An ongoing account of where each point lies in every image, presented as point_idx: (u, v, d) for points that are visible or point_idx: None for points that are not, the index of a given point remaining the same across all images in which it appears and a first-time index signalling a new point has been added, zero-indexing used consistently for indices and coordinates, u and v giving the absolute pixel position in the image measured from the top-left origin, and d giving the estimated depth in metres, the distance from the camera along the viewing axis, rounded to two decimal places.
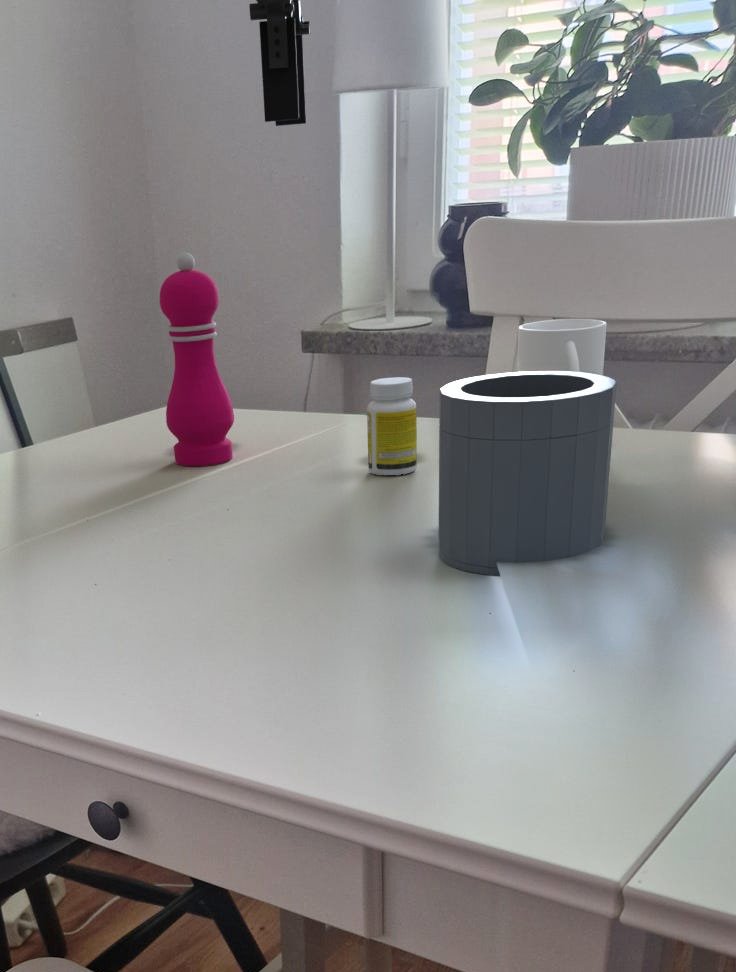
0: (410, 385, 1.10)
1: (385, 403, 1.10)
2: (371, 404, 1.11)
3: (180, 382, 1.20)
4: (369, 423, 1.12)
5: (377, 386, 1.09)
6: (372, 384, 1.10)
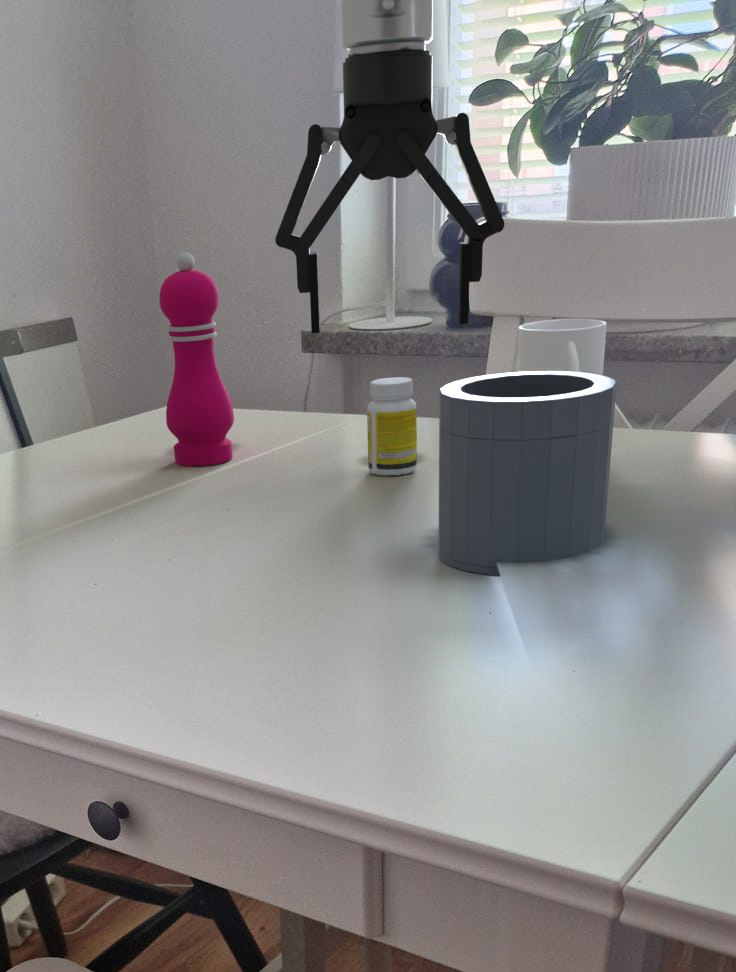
0: (410, 385, 1.10)
1: (385, 403, 1.10)
2: (371, 404, 1.11)
3: (180, 382, 1.20)
4: (369, 423, 1.12)
5: (377, 386, 1.09)
6: (372, 384, 1.10)
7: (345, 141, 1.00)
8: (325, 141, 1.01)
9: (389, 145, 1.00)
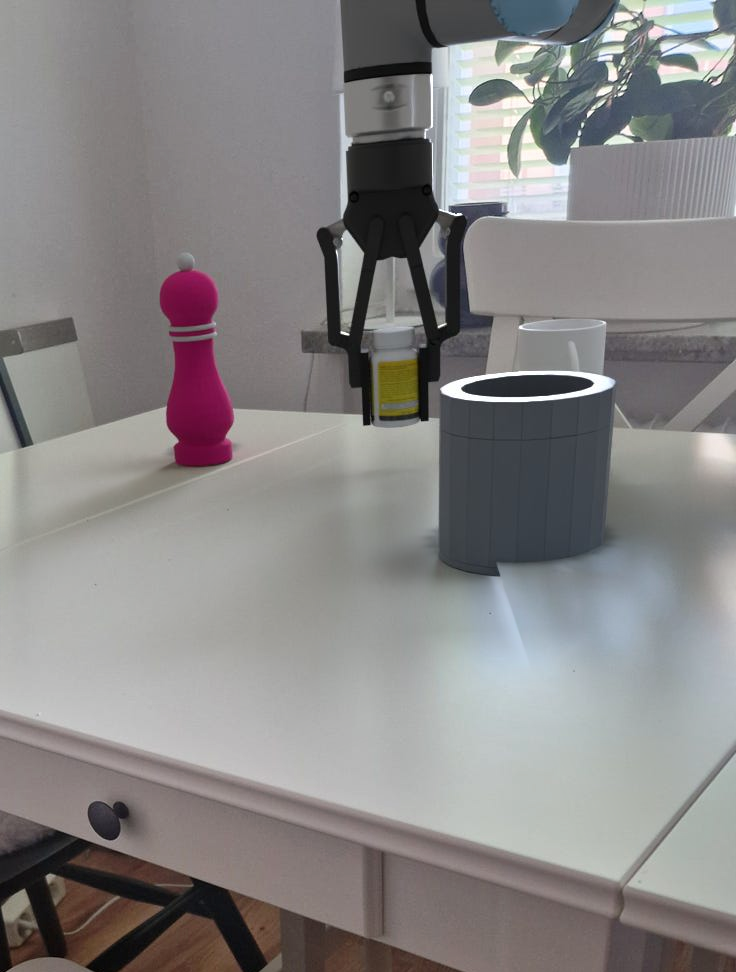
0: (413, 333, 1.07)
1: (387, 352, 1.08)
2: (373, 354, 1.09)
3: (180, 382, 1.20)
4: (371, 373, 1.09)
5: (379, 335, 1.07)
6: (374, 333, 1.08)
7: (352, 227, 1.03)
8: (335, 237, 1.04)
9: (392, 228, 1.03)
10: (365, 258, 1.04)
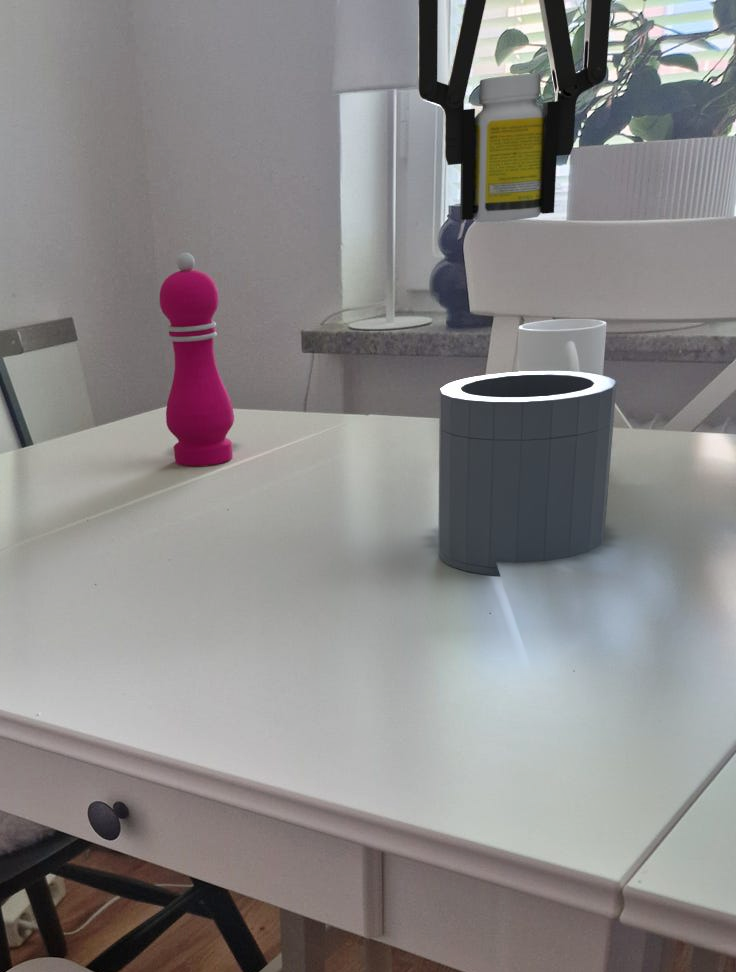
0: (538, 80, 0.77)
1: (501, 108, 0.77)
2: (480, 113, 0.78)
3: (180, 382, 1.20)
4: (477, 142, 0.79)
5: (492, 81, 0.76)
6: (483, 80, 0.77)
7: None
8: None
9: None
10: None
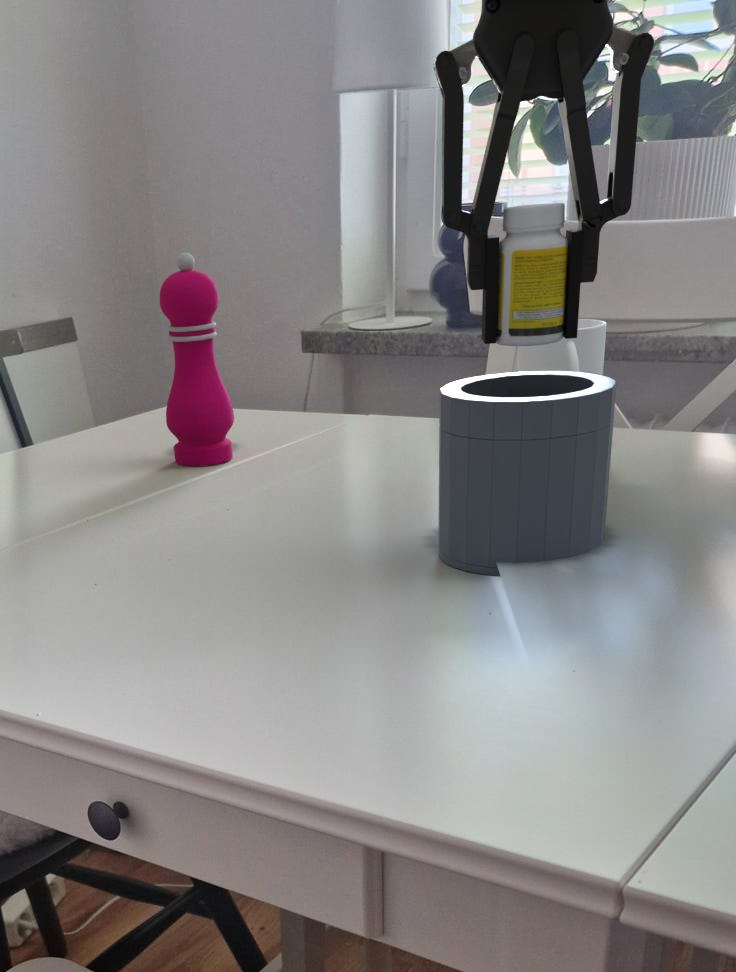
0: (563, 210, 0.76)
1: (526, 237, 0.77)
2: (504, 240, 0.78)
3: (180, 382, 1.20)
4: (500, 269, 0.78)
5: (516, 212, 0.76)
6: (508, 210, 0.77)
7: (488, 50, 0.72)
8: (461, 66, 0.73)
9: (545, 52, 0.72)
10: (504, 97, 0.73)
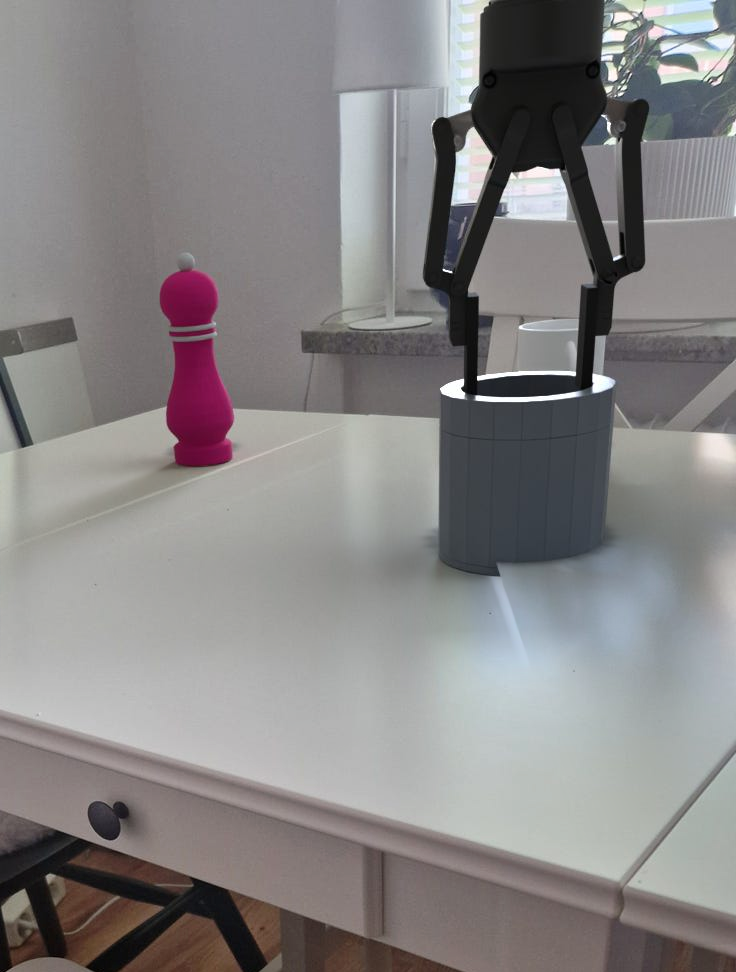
0: None
1: None
2: None
3: (180, 382, 1.20)
4: None
5: None
6: None
7: (484, 123, 0.74)
8: (456, 134, 0.75)
9: (541, 125, 0.74)
10: (496, 166, 0.75)
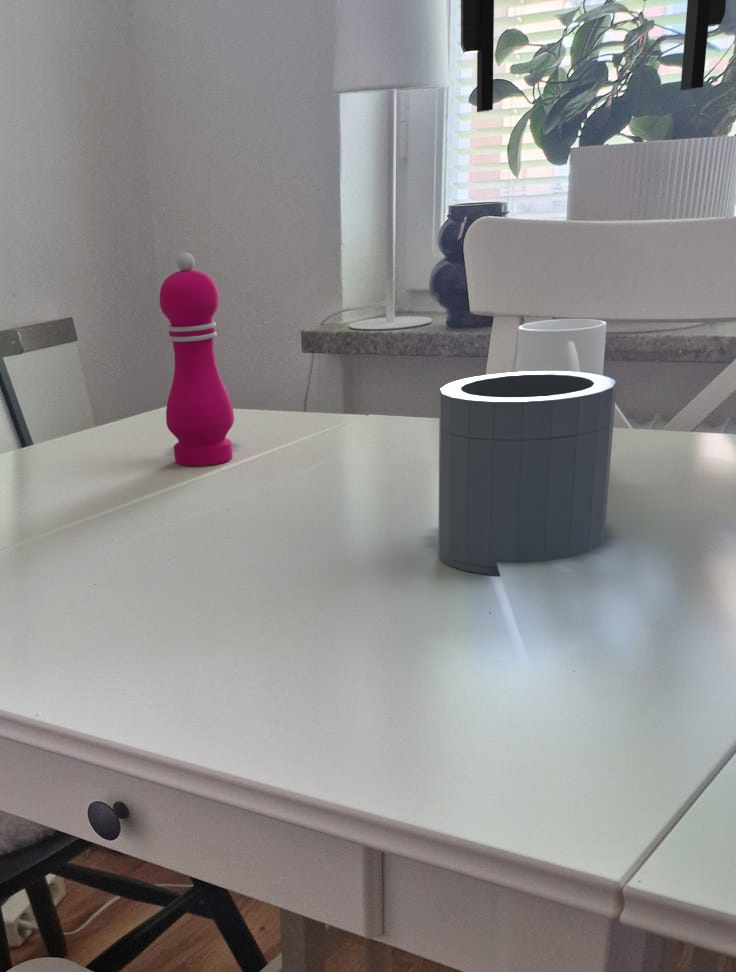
0: None
1: None
2: None
3: (180, 382, 1.20)
4: None
5: None
6: None
7: None
8: None
9: None
10: None
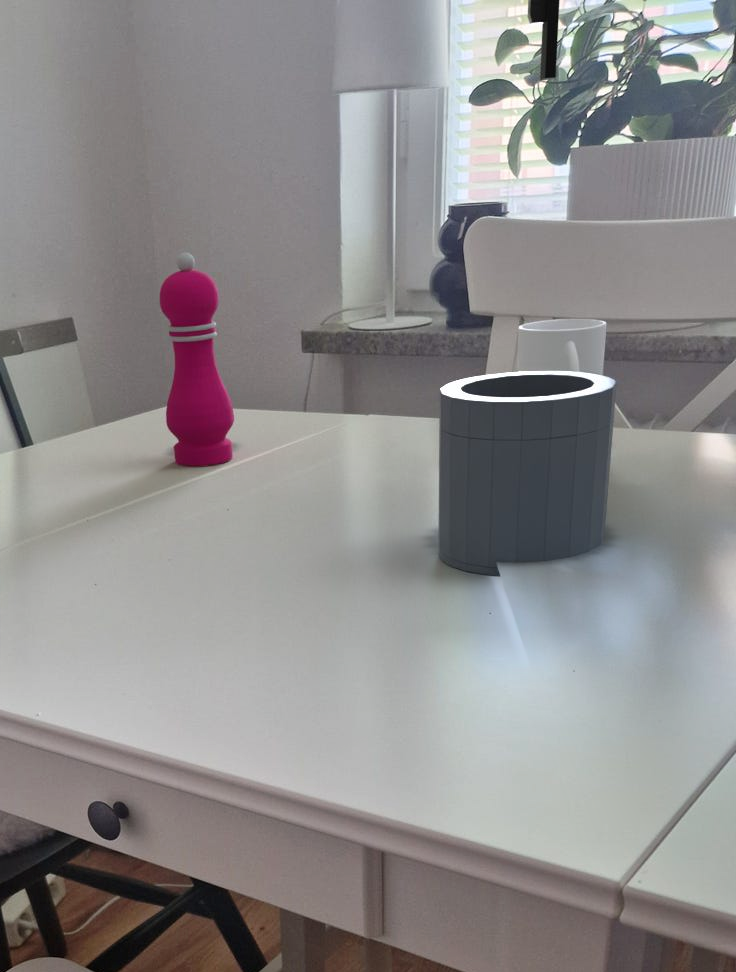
0: None
1: None
2: None
3: (180, 382, 1.20)
4: None
5: None
6: None
7: None
8: None
9: None
10: None
